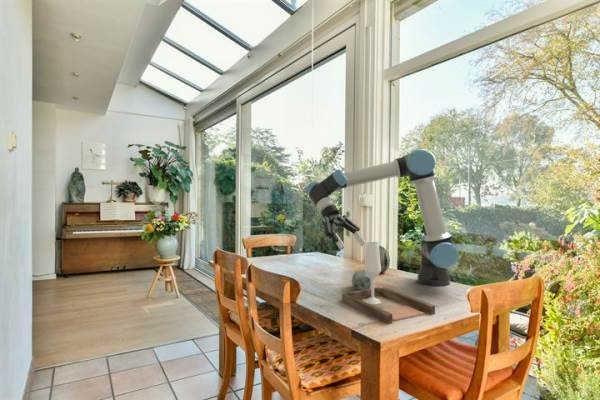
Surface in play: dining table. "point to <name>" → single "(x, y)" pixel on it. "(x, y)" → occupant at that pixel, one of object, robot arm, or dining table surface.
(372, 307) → the bay
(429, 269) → the robot arm
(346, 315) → the dining table surface
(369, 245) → the champagne flute
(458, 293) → the dining table surface
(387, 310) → the front tile
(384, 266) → the decorative egg
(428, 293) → the dining table surface
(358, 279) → the mottled grey rounded block
